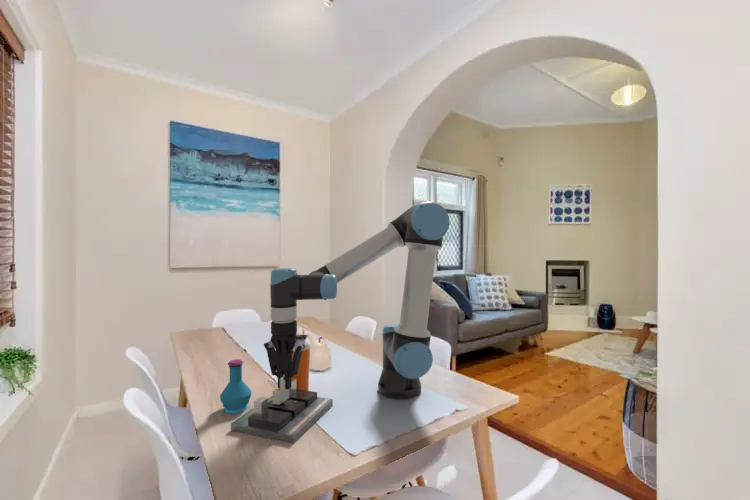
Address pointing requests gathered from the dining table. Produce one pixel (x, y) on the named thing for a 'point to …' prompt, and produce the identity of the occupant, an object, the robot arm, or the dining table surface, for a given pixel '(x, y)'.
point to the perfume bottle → (235, 390)
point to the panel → (288, 427)
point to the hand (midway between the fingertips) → (284, 399)
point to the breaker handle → (276, 396)
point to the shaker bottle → (303, 364)
